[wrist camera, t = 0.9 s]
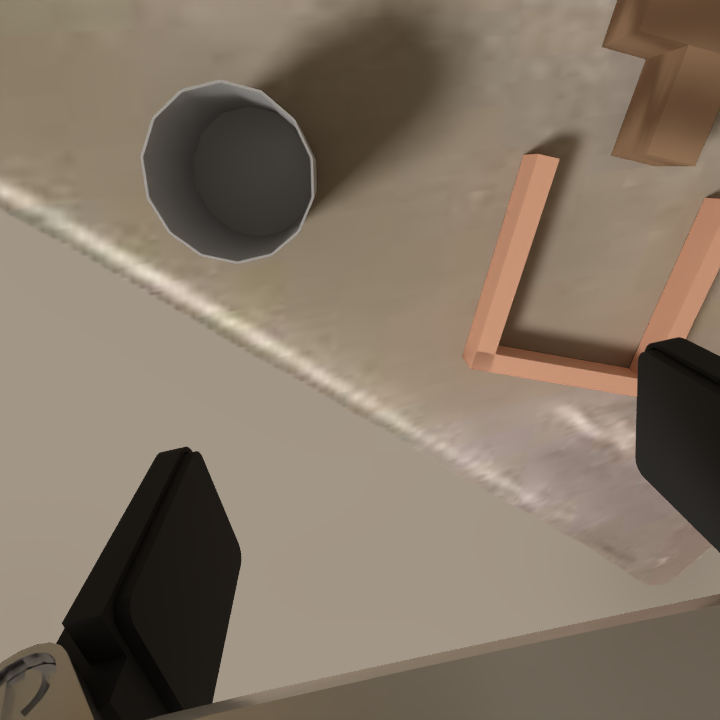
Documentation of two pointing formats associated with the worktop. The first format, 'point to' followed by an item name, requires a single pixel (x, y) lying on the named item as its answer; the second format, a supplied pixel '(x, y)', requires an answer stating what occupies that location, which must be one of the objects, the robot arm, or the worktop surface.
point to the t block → (668, 78)
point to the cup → (228, 171)
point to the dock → (670, 319)
